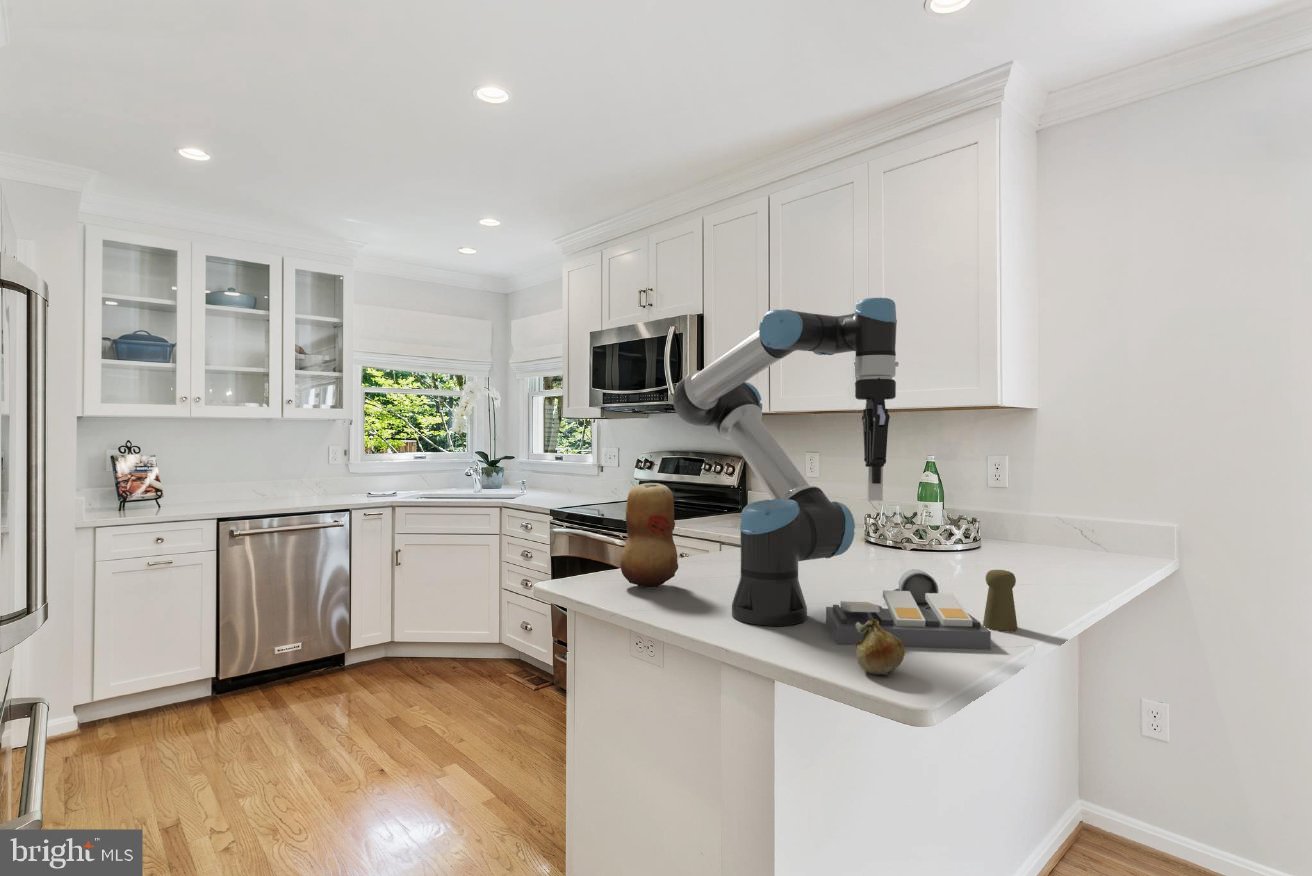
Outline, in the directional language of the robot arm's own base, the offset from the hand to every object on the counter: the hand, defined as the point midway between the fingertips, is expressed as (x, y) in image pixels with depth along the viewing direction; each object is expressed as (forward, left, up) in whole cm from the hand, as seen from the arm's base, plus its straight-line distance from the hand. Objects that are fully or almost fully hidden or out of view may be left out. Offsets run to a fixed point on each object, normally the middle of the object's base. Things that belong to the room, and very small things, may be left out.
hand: (874, 500), depth 133 cm
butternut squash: (-47, +27, -25) cm, 60 cm away
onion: (-5, -27, -25) cm, 37 cm away
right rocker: (+12, -6, -19) cm, 24 cm away
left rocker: (-4, -6, -19) cm, 21 cm away
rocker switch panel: (+4, -6, -24) cm, 25 cm away
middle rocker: (+4, -6, -19) cm, 21 cm away
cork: (+24, +1, -25) cm, 34 cm away
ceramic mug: (+12, +17, -25) cm, 32 cm away
